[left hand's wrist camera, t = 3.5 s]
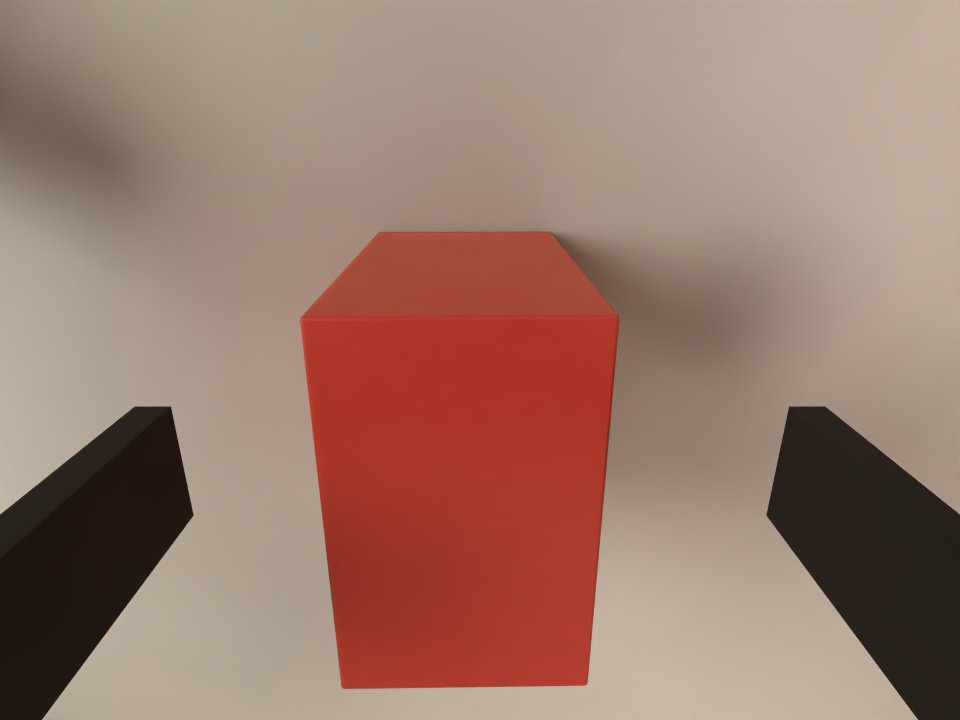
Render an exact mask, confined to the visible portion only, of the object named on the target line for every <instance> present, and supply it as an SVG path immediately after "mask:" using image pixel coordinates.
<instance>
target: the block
mask: <svg viewBox="0 0 960 720" xmlns="http://www.w3.org/2000/svg"><path fill="white" fill-rule="evenodd" d="M300 322H301V331H302V340H303V349H304V358H305V367H306V376H307V384H308V393H309V402H310V411H311V420H312V429H313V438H314V447H315V455H316V464H317V473H318V482H319V491H320V500H321V509H322V517H323V526H324V535H325V544H326V553H327V562H328V571H329V580H330V588H331V597H332V606H333V615H334V624H335V633H336V642H337V651H338V659H339V668H340V677H341V685H342V688H344V689H371V688H445V687H519V686H585V685H587V682H588V672H589V661H590V649H591V638H592V626H593V615H594V603H595V592H596V580H597V569H598V557H599V546H600V535H601V523H602V512H603V500H604V489H605V477H606V466H607V454H608V443H609V431H610V420H611V408H612V397H613V386H614V374H615V363H616V351H617V340H618V328H619V316H618V315H617V313H616V312H615V311H614V310H613V309H612V307H611V306H610V305H609V304H608V302H607V301H606V300H605V299H604V297H603V296H602V295H601V294H600V293H599V291H598V290H597V289H596V288H595V286H594V285H593V284H592V283H591V281H590V280H589V279H588V278H587V277H586V275H585V274H584V273H583V272H582V270H581V269H580V268H579V267H578V265H577V264H576V263H575V262H574V261H573V259H572V258H571V257H570V256H569V254H568V253H567V252H566V251H565V250H564V248H563V247H562V246H561V245H560V243H559V242H558V241H557V240H556V238H555V237H554V236H553V235H552V234H551V232H380V233H378V234H377V235H376V236H375V237H374V239H373V240H372V241H371V242H370V243H369V244H368V245H367V246H366V247H365V248H364V249H363V251H362V252H361V253H360V254H359V255H358V256H357V257H356V258H355V259H354V260H353V261H352V262H351V264H350V265H349V266H348V267H347V268H346V269H345V270H344V271H343V272H342V273H341V274H340V276H339V277H338V278H337V279H336V280H335V281H334V282H333V283H332V284H331V285H330V286H329V287H328V289H327V290H326V291H325V292H324V293H323V294H322V295H321V296H320V297H319V298H318V299H317V300H316V302H315V303H314V304H313V305H312V306H311V307H310V308H309V309H308V310H307V311H306V312H305V314H304V315H303V316H302V317H301V319H300Z"/></svg>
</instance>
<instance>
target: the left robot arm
mask: <svg viewBox="0 0 960 720" xmlns="http://www.w3.org/2000/svg"><path fill="white" fill-rule="evenodd" d="M192 517H193V510H192V506H191V501H190V496H189V491H188V487H187V482H186V477H185V472H184V467H183V463H182V458H181V453H180V448H179V443H178V439H177V434H176V429H175V424H174V419H173V415H172V410H171V407H134V408H132V409H131V410H130V411H129V412H127V413H126V414H125V415H124V416H122V417H121V418H120V419H119V420H117V421H116V422H115V423H114V424H113V425H111V426H110V427H109V428H108V429H106V430H105V431H104V432H103V433H101V434H100V435H99V436H98V437H96V438H95V439H94V440H93V441H91V442H90V443H89V444H88V445H86V446H85V447H84V448H83V449H81V450H80V451H79V452H78V453H76V454H75V455H74V456H73V457H71V458H70V459H69V460H68V461H66V462H65V463H64V464H63V465H61V466H60V467H59V468H58V469H56V470H55V471H54V472H53V473H51V474H50V475H49V476H48V477H46V478H45V479H44V480H43V481H42V482H40V483H39V484H38V485H37V486H35V487H34V488H33V489H32V490H30V491H29V492H28V493H27V494H25V495H24V496H23V497H22V498H20V499H19V500H18V501H17V502H15V503H14V504H13V505H12V506H10V507H9V508H8V509H7V510H5V511H4V512H3V513H2V514H0V720H42V719H43V718H44V716H45V715H46V713H47V712H48V711H49V709H50V708H51V707H52V705H53V704H54V703H55V701H56V700H57V699H58V697H59V696H60V695H61V693H62V692H63V691H64V689H65V688H66V687H67V685H68V684H69V682H70V681H71V680H72V678H73V677H74V676H75V674H76V673H77V672H78V670H79V669H80V668H81V666H82V665H83V664H84V662H85V661H86V660H87V658H88V657H89V656H90V654H91V653H92V652H93V650H94V649H95V647H96V646H97V645H98V643H99V642H100V641H101V639H102V638H103V637H104V635H105V634H106V633H107V631H108V630H109V629H110V627H111V626H112V625H113V623H114V622H115V621H116V619H117V618H118V616H119V615H120V614H121V612H122V611H123V610H124V608H125V607H126V606H127V604H128V603H129V602H130V600H131V599H132V598H133V596H134V595H135V594H136V592H137V591H138V590H139V588H140V587H141V586H142V584H143V583H144V581H145V580H146V579H147V577H148V576H149V575H150V573H151V572H152V571H153V569H154V568H155V567H156V565H157V564H158V563H159V561H160V560H161V559H162V557H163V556H164V555H165V553H166V552H167V550H168V549H169V548H170V546H171V545H172V544H173V542H174V541H175V540H176V538H177V537H178V536H179V534H180V533H181V532H182V530H183V529H184V528H185V526H186V525H187V524H188V522H189V521H190V519H191V518H192ZM767 517H768V518H769V519H770V521H771V522H772V524H773V525H774V526H775V528H776V529H777V530H778V532H779V533H780V534H781V536H782V537H783V538H784V540H785V541H786V542H787V544H788V545H789V546H790V548H791V549H792V550H793V552H794V553H795V555H796V556H797V557H798V559H799V560H800V561H801V563H802V564H803V565H804V567H805V568H806V569H807V571H808V572H809V573H810V575H811V576H812V577H813V579H814V580H815V581H816V583H817V584H818V586H819V587H820V588H821V590H822V591H823V592H824V594H825V595H826V596H827V598H828V599H829V600H830V602H831V603H832V604H833V606H834V607H835V608H836V610H837V611H838V612H839V614H840V615H841V616H842V618H843V619H844V621H845V622H846V623H847V625H848V626H849V627H850V629H851V630H852V631H853V633H854V634H855V635H856V637H857V638H858V639H859V641H860V642H861V643H862V645H863V646H864V647H865V649H866V650H867V652H868V653H869V654H870V656H871V657H872V658H873V660H874V661H875V662H876V664H877V665H878V666H879V668H880V669H881V670H882V672H883V673H884V674H885V676H886V677H887V678H888V680H889V681H890V682H891V684H892V685H893V687H894V688H895V689H896V691H897V692H898V693H899V695H900V696H901V697H902V699H903V700H904V701H905V703H906V704H907V705H908V707H909V708H910V709H911V711H912V712H913V713H914V715H915V716H916V718H917V719H918V720H960V514H958V513H957V512H956V511H955V510H953V509H952V508H951V507H950V506H948V505H947V504H946V503H945V502H943V501H942V500H941V499H940V498H938V497H937V496H936V495H935V494H933V493H932V492H931V491H930V490H928V489H927V488H926V487H925V486H923V485H922V484H921V483H920V482H918V481H917V480H916V479H915V478H914V477H912V476H911V475H910V474H909V473H907V472H906V471H905V470H904V469H902V468H901V467H900V466H899V465H897V464H896V463H895V462H894V461H892V460H891V459H890V458H889V457H887V456H886V455H885V454H884V453H882V452H881V451H880V450H879V449H877V448H876V447H875V446H874V445H872V444H871V443H870V442H869V441H867V440H866V439H865V438H864V437H862V436H861V435H860V434H859V433H857V432H856V431H855V430H854V429H852V428H851V427H850V426H849V425H847V424H846V423H845V422H844V421H843V420H841V419H840V418H839V417H838V416H836V415H835V414H834V413H833V412H831V411H830V410H829V409H828V408H826V407H789V410H788V415H787V419H786V424H785V429H784V434H783V439H782V443H781V448H780V453H779V458H778V463H777V467H776V472H775V477H774V482H773V487H772V491H771V496H770V501H769V506H768V510H767Z"/></svg>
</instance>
